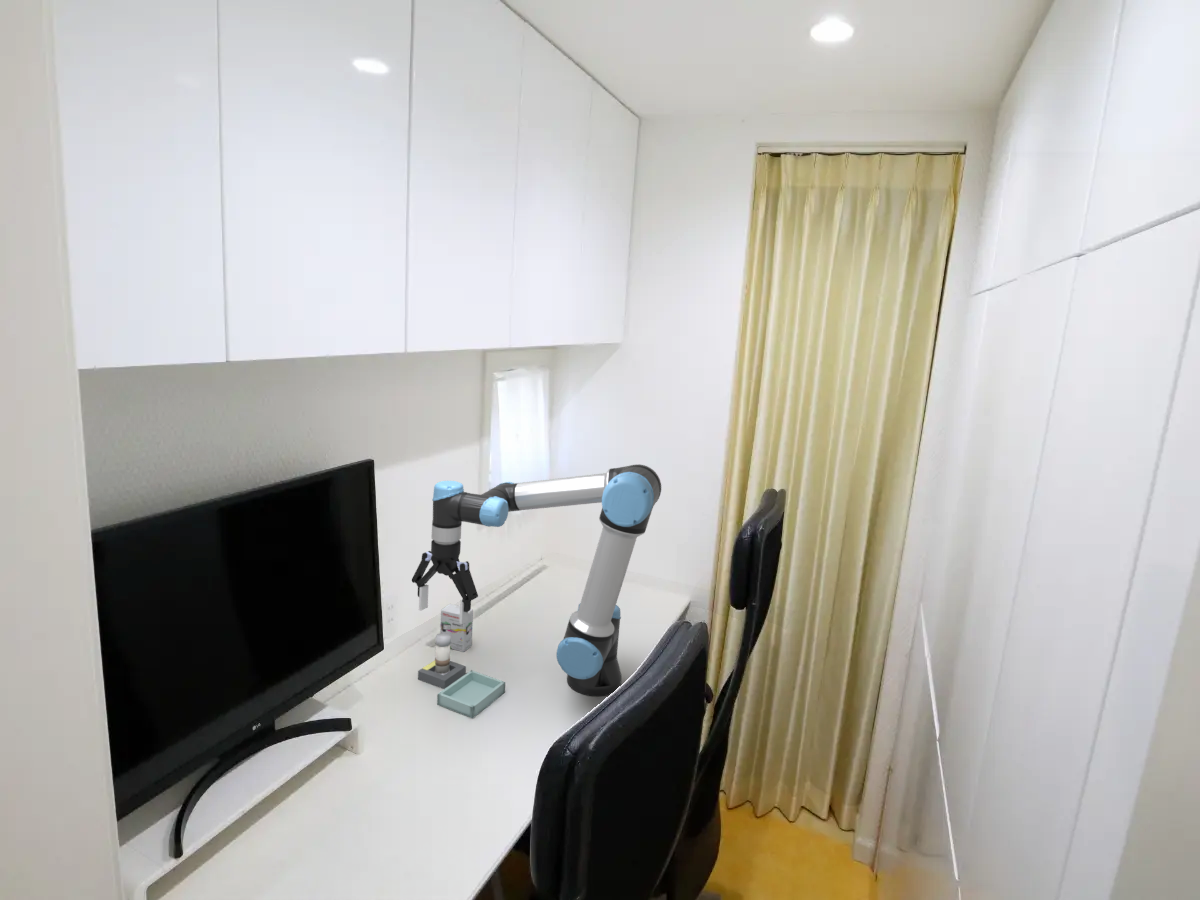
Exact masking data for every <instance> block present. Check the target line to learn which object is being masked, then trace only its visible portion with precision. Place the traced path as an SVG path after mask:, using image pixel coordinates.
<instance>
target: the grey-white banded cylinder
mask: <svg viewBox="0 0 1200 900" xmlns="http://www.w3.org/2000/svg"><path fill="white" fill-rule="evenodd" d="M450 644H451V635H450V634H448V633H440V632H439V633H437V634H436V635H435V658H434V660H435V672H436V673H438V674H441V675H445V674H447V673H448V672H450V669H449V667H450V661H451V649H450Z"/></svg>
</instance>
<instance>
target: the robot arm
mask: <svg viewBox="0 0 1200 900" xmlns="http://www.w3.org/2000/svg"><path fill="white" fill-rule="evenodd" d="M661 493H662V482H661V479H660V477H659V475H658V473H657V472H656V471H655V470H654V469H652V468H651V467H649V466H648V465H644V464H631V465H630V464H629V465H626V466H620V467H614V468H609V469H608V470H607V471H606V472H605V473H604V472H603V473H595V474H585V475H578V476H577V475H576V476H569V477H559V478H552V479H551V478H549V479H543V480H542V479H541V480H533V481H526V482H525V481H524V482H516V483H515V482H511V481H505V482H502V483H499V484H497V485H495V487H492V488H491V489H489V490H487V491H485V492H483V493H481V494H480V493H479V494H477V493H471V492H467V491H466V492H465V489H464V484H463V483H461V482H459V481H455V480H443V481H439V482H437V483H435V484H434V486H433V495H432V498H431V499H432V522H431V523H432V524H431V543H430V544H431V545H430V546H431V547H430V548H431V549H430V550H428V551H426V552H423V553H422V554H421V560H420V563H419V565H418V566H417V569H416V570H415V572H414V574H413V576H412V578H411V582H412V583H415V584H416V586H417V598H418V611H423V610H425V609H427V608H428V606H429V605H428V604H429V584H428V582H429V581H430V580H431V579H432V577H433V576H434V575H435V574H436V573H437V574H442V575H444V576H446V577H447V576H448V578H449V579H450V580H452V582H453V584H454V585H455V588H456V590H457V591H458V593H459V595H460V597H461V598H462V599H460V601H459V606H460V617H459V624H463V623H465V622H466V621H468V611H470V609H472V608H471V606H472V601H473V600H475V599H476V598H478V597H479V594H478V591H477V589H476V588H477V587H476V585H475V583H474V580H473V576H472V573H471V570H470V562H469V561H460V559H459V557H460V554H461V544H462V542H461V539H462V522H463V523H464V522H465V523H468V524H469V523H471V524H475V525H479V526H480V525H481V526H484V527H489V528H490V527H495V528H500V527H502V526H504V524H505V521H507V519H508V515H509V512H510V513H511V512H518V511H519V512H520V511H528V510H537V509H548V508H558V507H569V506H578V505H589V504H600V503H601V506H602V507H601V511H600V514H599V517H598V518H599V522H600V523H601V525H602V530H601V532H600V537H599V540H598V543H597V545H596V546H597V547H596V549H595V550H596V551H595V553H594V556H593V560H592V563H591V566H590V570H589V573H588V577H587V581H586V583H585V587H584V590H583V593H582V596H581V600H580V602H579V604H578V608H577V611H574V612H571V614H570V616H569V620H568V623H567V626H566V629H565V632H564V636H563V638H562V640H561V641H560V642H559V643H558V646H557V650H556V661H557V663H558V665H559V666H560V668H561V670H562V671H563V672H564V673H565V674H566V682H567V684H568V686H569V687H570V688H571V690H573V691H575V692H577V693H580V694H582V695H584V696H585V695H587V696H591V697H600V696H601V697H602V696H603V697H604V696H607V695H611V694H613V693H612V692H614V691H615V690H616V689H617V688H618V687H619V686H620V685H622V673H621V668H620V664H619V659H618V647H619V636H620V625H621V618H622V616H621V608H620V607H619V606H618V605H617V603H618V599H619V596H620V593H621V589H622V587H623V583H624V580H625V577H626V573H627V570H628V567H629V563H630V561H631V557H632V554H633V551H634V548H635V545H636V541H637V538H638V537H640V536H642V535H644V534H645V533H646V529H647V527H648V524H649V521H650V518H651V515H652V511H653V509H654V507H655V505H656V504H657V502H658V501H659V499H660V496H661ZM430 562H431V563H432V565H431V566H430V568H429V569H428V571H427V572H426V570H427V568H428V567H429V565H430ZM425 572H426V573H425ZM620 687H621V686H620ZM615 692H616V691H615ZM615 692H614V693H615Z"/></svg>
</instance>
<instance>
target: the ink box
mask: <svg viewBox="0 0 1200 900" xmlns="http://www.w3.org/2000/svg"><path fill="white" fill-rule="evenodd" d="M459 617H460V605H458V604H452V603H449V604H447V605H446V606H444V607H443V608H442V609H441V610H440V626H439V627H440V629H439V630H440V631H439V633H448V634H450V635H451V644H450V650H455V651H459V652H462V653H464V652H466V651H467V650H468V649H470V648H471V647H472V645H473V622H474V609H472V608H471V609H470V611H468V621H466V622H465V623H463V624H459Z"/></svg>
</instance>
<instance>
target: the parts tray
mask: <svg viewBox="0 0 1200 900" xmlns="http://www.w3.org/2000/svg"><path fill="white" fill-rule="evenodd" d="M504 693H506V681H503V680H501V679H498V678H496V677H495V678H494V677H493V676H491V675H488V674H487V675H486V674H484V673H480V672H478V671H475V670H472V669H471V670H470V671H468V672H466V674H465V675H464V676H462V677H461V678H459V679H458V680H457V681H455V682H454V683H452V684H451V685H449V686H448V687H447V688H445V689H443V690H440V691H439V692H438V693H437V701H436V704H437V706H439V707H442V708H445V709H448V710H450V711H453V712H456V713H457V714H460V715H462V716H466V717H468V718H470V719H475V717H476V716H477V715H479V714H480V713H481V712H482V711H483V710H485V709H486V708H488V706H491V704H492V703H494V702H495V701H496V700H497V699H498V698H500V696H502V695H503V694H504Z"/></svg>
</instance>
